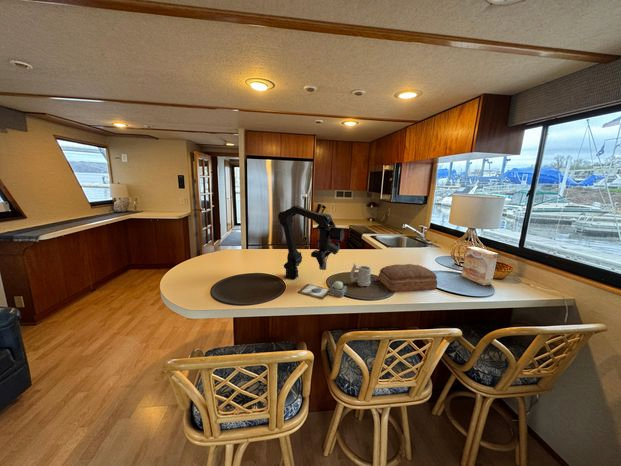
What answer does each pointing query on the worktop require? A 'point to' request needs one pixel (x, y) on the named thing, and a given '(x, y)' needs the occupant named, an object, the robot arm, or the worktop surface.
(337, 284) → the button
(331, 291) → the button collar
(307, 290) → the picture frame
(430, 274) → the bread
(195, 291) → the worktop surface
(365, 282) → the mug
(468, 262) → the coffeecake box
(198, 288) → the worktop surface
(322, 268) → the marker
